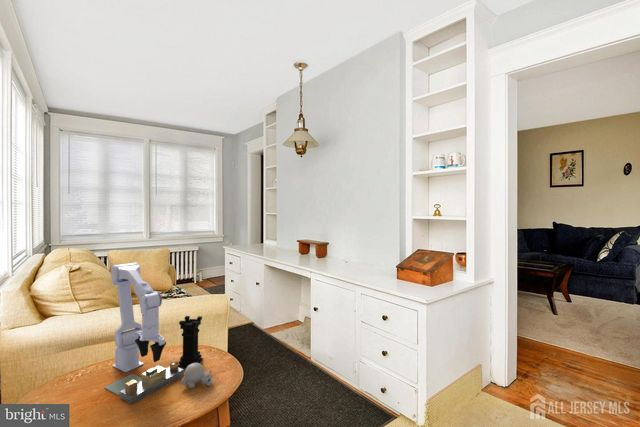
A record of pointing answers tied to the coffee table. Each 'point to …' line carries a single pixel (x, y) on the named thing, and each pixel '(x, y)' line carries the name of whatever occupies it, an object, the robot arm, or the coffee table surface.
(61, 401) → the coffee table surface
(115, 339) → the robot arm
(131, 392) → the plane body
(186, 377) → the chubby cartoon animal
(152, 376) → the pale yellow block
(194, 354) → the chess piece
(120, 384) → the rubber mat
